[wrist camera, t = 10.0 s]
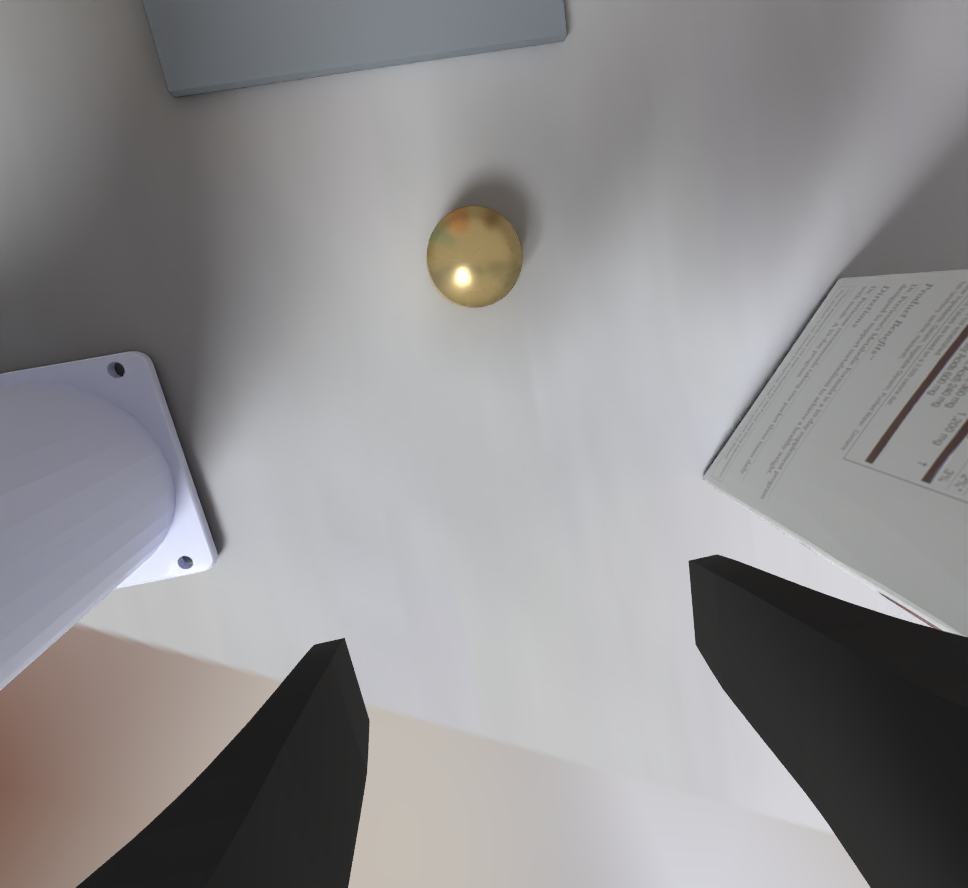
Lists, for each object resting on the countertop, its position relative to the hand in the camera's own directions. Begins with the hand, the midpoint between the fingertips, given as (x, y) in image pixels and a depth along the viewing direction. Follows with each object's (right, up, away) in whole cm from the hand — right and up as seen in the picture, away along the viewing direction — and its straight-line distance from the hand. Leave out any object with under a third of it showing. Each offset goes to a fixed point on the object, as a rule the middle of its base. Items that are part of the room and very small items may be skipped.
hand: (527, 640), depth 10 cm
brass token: (-1, +10, +7) cm, 13 cm away
